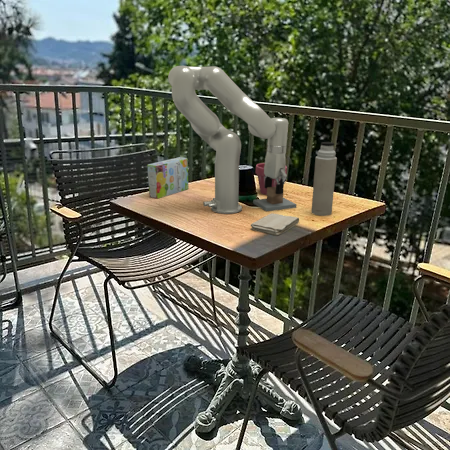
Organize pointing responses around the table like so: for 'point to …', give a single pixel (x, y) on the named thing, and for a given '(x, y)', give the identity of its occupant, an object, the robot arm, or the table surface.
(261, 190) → the plant pot
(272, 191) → the walnut block
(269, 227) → the washcloth
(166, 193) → the snack box
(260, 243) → the table surface
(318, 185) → the thermos bottle
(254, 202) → the slate board
